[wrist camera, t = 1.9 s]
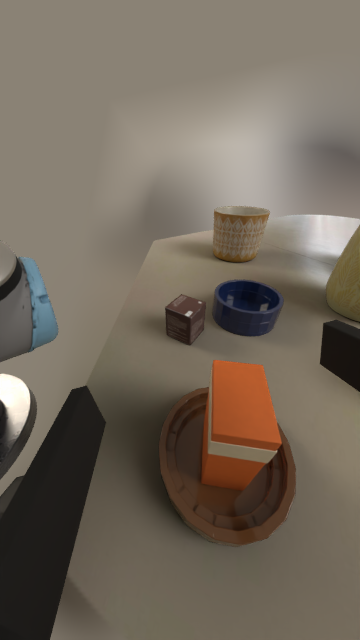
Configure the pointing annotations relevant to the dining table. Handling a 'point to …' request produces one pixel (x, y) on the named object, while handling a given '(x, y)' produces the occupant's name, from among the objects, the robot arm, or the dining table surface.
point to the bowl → (217, 502)
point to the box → (185, 318)
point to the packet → (237, 425)
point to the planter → (238, 232)
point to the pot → (246, 307)
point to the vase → (346, 281)
